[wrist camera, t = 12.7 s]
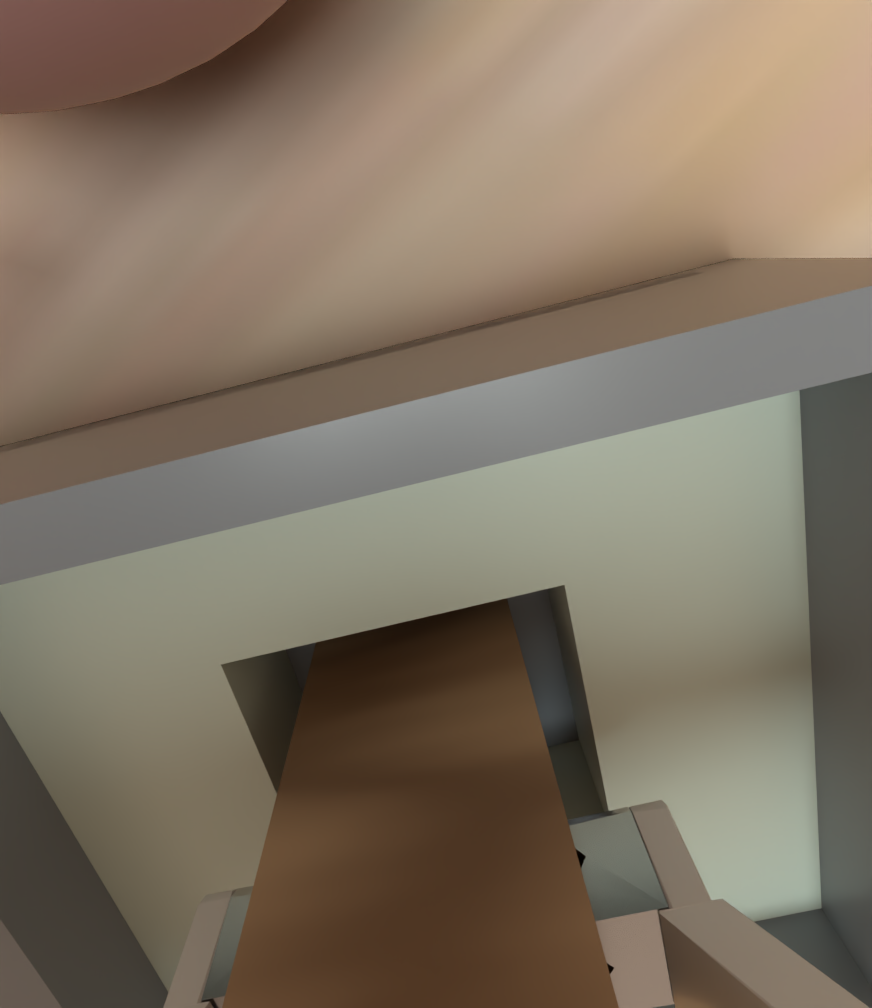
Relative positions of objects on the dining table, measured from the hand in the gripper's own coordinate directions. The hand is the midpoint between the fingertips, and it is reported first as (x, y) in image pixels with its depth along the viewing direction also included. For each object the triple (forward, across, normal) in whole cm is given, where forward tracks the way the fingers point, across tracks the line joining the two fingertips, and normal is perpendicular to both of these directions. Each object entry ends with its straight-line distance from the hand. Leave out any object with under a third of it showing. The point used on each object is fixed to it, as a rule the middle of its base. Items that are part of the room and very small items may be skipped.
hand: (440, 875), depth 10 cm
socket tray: (+6, 0, 0) cm, 6 cm away
